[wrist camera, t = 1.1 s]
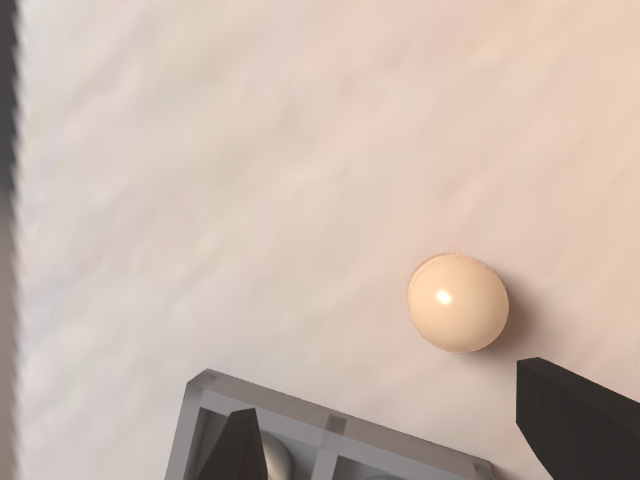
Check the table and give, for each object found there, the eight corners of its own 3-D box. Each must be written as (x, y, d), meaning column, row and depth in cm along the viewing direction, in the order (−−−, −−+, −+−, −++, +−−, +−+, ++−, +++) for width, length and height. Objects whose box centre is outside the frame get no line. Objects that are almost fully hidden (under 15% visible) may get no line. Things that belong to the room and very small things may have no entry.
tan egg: (503, 265, 22) (534, 275, 17) (480, 346, 22) (504, 379, 17) (418, 243, 23) (424, 247, 18) (398, 322, 23) (397, 348, 18)
